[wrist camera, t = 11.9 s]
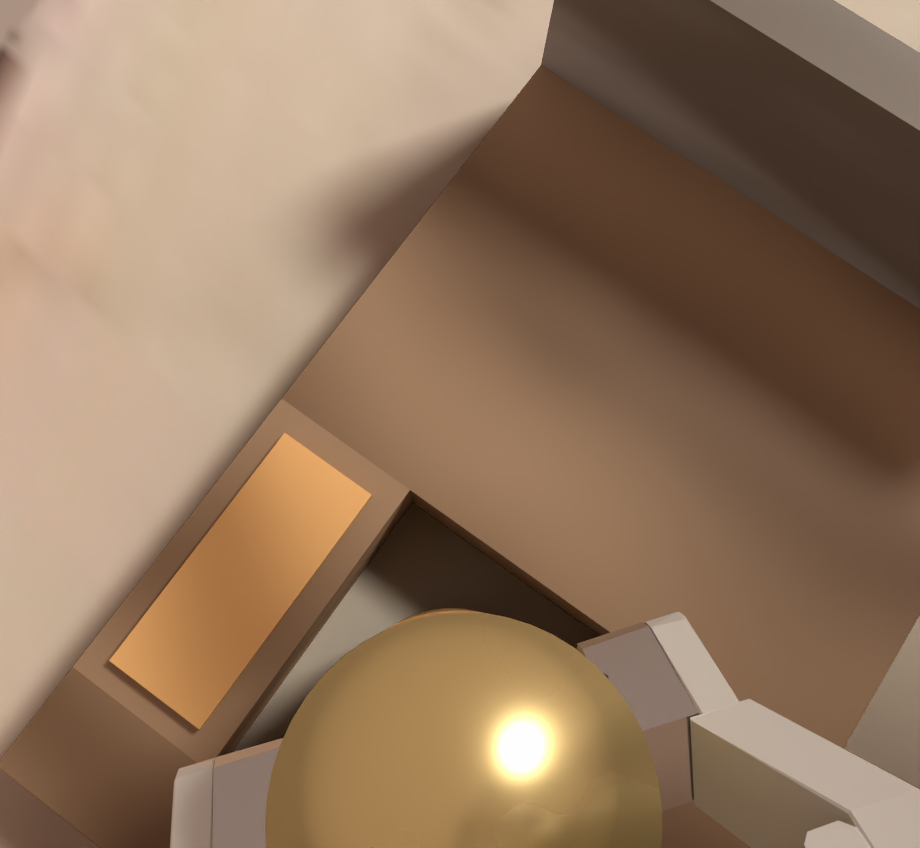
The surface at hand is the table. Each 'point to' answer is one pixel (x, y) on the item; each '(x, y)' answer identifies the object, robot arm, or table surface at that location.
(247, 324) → the table surface
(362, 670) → the brass peg
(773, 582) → the socket block
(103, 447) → the table surface
